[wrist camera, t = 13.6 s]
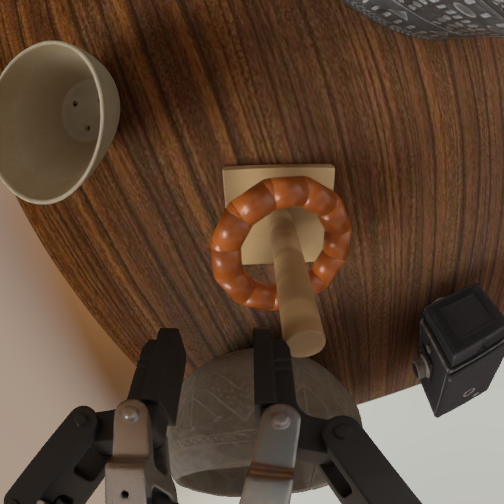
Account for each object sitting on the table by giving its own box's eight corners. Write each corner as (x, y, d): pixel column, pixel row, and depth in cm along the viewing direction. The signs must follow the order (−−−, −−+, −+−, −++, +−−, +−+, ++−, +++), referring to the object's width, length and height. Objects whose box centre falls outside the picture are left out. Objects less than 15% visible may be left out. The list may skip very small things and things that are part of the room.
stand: (231, 258, 25) (220, 395, 14) (223, 166, 21) (192, 271, 10) (325, 254, 25) (370, 383, 14) (331, 163, 20) (417, 260, 9)
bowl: (377, 348, 32) (412, 457, 19) (281, 419, 41) (286, 502, 29) (221, 283, 26) (204, 445, 13) (155, 383, 36) (135, 481, 23)
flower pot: (175, 110, 18) (140, 122, 12) (90, 192, 21) (43, 233, 15) (100, 24, 14) (45, 9, 8) (27, 113, 17) (-30, 133, 11)
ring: (217, 309, 20) (221, 326, 19) (202, 181, 16) (205, 191, 14) (334, 285, 22) (344, 299, 21) (347, 169, 18) (363, 177, 16)
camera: (461, 327, 33) (476, 253, 24) (493, 390, 24) (532, 331, 15) (399, 357, 35) (396, 291, 26) (424, 427, 26) (442, 388, 17)
